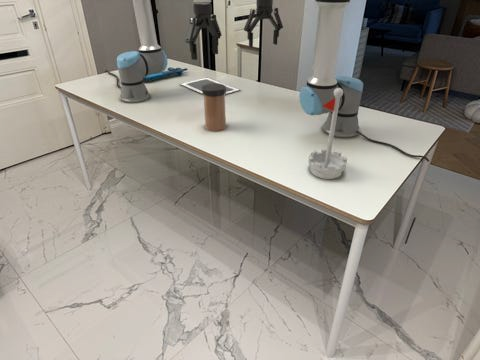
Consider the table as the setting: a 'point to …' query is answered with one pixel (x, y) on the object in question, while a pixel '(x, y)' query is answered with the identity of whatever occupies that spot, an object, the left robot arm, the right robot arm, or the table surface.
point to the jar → (215, 112)
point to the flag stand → (329, 148)
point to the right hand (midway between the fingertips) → (263, 45)
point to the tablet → (200, 83)
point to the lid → (214, 89)
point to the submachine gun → (164, 74)
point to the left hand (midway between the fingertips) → (205, 56)
